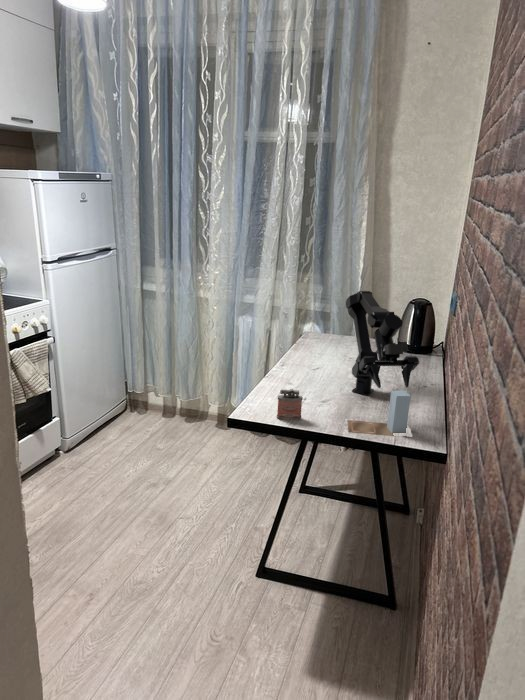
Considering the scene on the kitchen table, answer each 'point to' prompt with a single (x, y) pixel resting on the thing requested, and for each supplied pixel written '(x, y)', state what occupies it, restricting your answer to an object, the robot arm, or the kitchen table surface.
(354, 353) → the kitchen table surface
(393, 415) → the tall block
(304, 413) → the kitchen table surface
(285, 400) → the lighter
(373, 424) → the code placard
